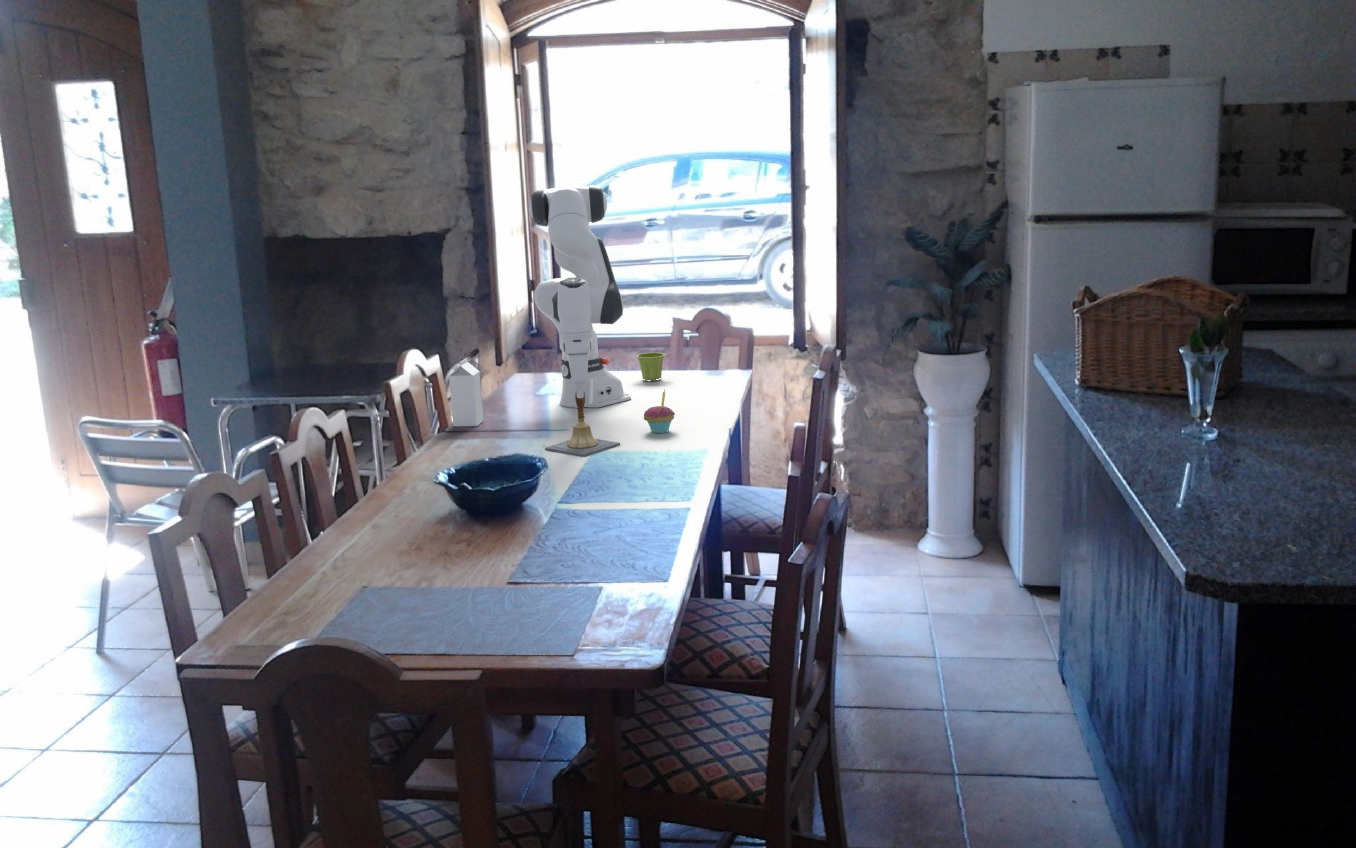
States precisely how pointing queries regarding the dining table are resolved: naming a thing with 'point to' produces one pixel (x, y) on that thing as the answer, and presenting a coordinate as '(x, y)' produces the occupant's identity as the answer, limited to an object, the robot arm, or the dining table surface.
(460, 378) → the milk carton
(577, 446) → the hand bell
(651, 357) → the plant pot
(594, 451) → the plate
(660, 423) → the cupcake
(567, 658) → the dining table surface
